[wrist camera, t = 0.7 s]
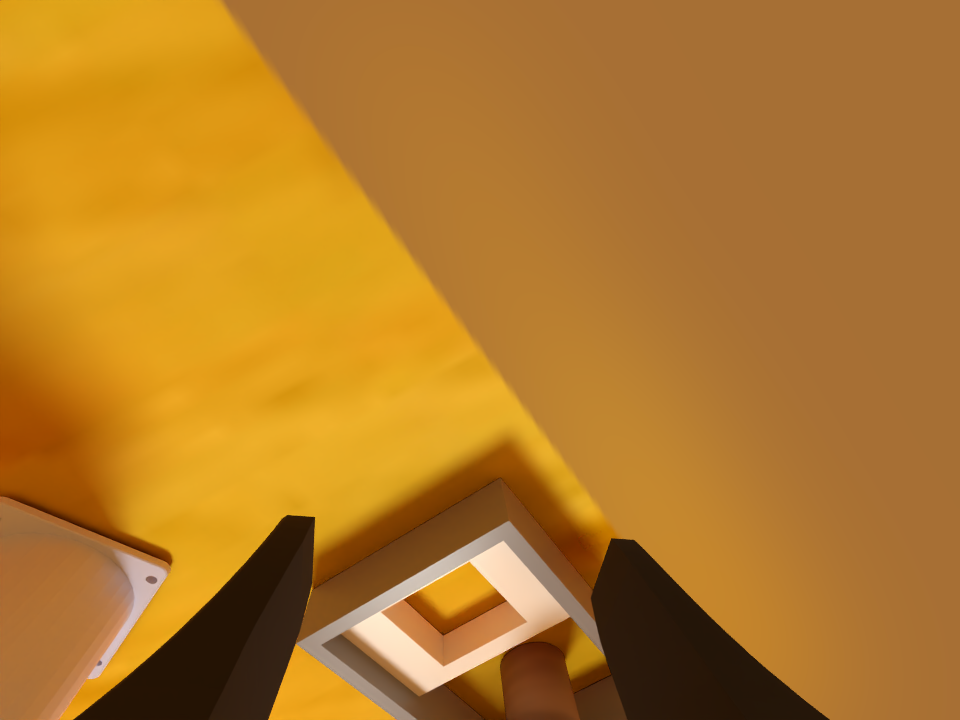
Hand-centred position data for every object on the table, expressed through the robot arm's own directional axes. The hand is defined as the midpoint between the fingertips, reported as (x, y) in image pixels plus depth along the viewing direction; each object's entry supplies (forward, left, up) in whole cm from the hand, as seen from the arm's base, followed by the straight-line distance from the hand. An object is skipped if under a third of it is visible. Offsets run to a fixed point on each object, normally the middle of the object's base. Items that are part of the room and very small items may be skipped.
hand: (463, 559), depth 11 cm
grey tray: (-11, -12, -10) cm, 19 cm away
